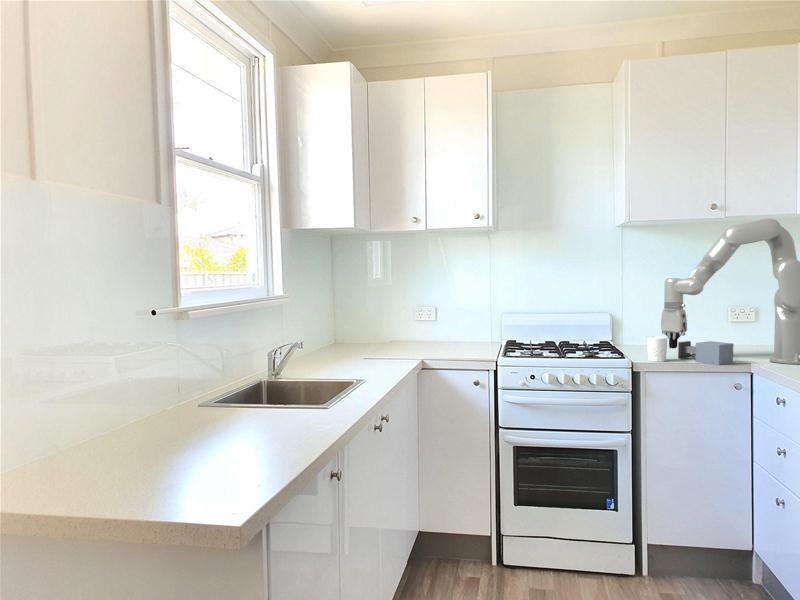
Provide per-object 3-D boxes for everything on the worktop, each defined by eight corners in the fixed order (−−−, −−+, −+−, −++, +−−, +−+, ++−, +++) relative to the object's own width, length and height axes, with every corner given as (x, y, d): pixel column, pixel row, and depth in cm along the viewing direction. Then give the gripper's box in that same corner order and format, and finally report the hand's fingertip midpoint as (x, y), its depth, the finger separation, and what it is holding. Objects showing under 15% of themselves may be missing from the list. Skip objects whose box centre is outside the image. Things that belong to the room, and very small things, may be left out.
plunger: (716, 359, 250) (716, 342, 249) (700, 361, 244) (701, 344, 244) (693, 356, 258) (693, 340, 258) (678, 358, 253) (678, 342, 252)
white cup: (655, 362, 244) (655, 338, 243) (642, 359, 251) (643, 336, 251) (671, 361, 246) (671, 337, 246) (658, 359, 254) (658, 336, 253)
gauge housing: (738, 362, 243) (738, 342, 243) (718, 365, 236) (719, 345, 236) (690, 356, 261) (691, 338, 261) (671, 358, 254) (671, 340, 253)
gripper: (694, 306, 253) (694, 349, 254) (663, 305, 266) (663, 345, 267) (684, 307, 249) (683, 350, 250) (653, 305, 262) (652, 346, 263)
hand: (673, 347), depth 259 cm, fingers closed
